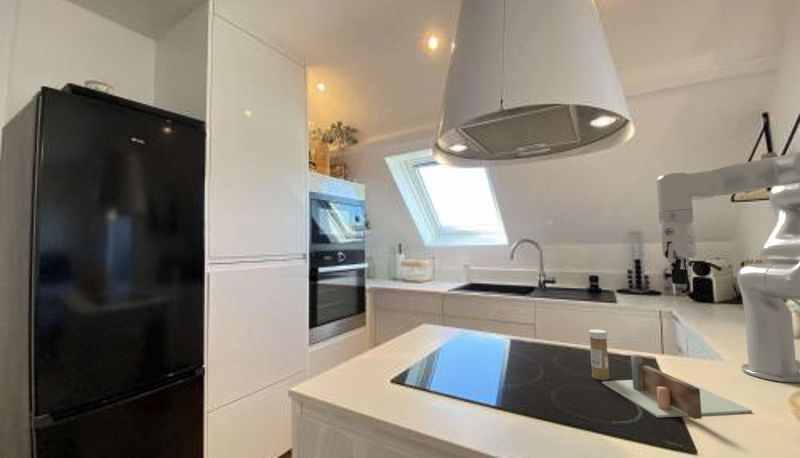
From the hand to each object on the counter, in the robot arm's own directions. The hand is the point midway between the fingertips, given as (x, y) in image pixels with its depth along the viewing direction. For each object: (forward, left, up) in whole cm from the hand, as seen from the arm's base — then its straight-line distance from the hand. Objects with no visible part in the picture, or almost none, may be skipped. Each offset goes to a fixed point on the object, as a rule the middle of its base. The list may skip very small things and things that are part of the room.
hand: (680, 283), depth 98 cm
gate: (+16, +13, -26) cm, 33 cm away
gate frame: (+11, +7, -27) cm, 30 cm away
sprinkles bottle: (+20, -7, -27) cm, 35 cm away
